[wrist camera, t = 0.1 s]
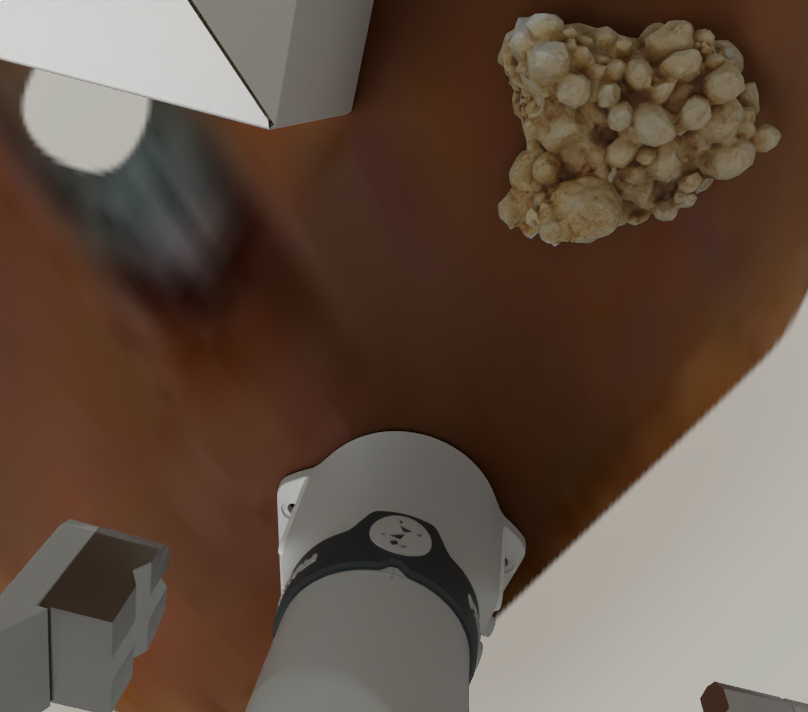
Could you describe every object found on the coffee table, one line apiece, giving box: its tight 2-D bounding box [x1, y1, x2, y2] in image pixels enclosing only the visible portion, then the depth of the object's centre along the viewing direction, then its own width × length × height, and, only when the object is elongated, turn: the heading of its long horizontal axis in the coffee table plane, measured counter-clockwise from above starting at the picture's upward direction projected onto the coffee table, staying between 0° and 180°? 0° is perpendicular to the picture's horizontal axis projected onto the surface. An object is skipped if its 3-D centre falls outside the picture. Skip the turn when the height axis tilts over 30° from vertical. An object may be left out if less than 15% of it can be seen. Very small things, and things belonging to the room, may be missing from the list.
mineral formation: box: [498, 13, 781, 246], centre depth 42 cm, size 8×13×15 cm
